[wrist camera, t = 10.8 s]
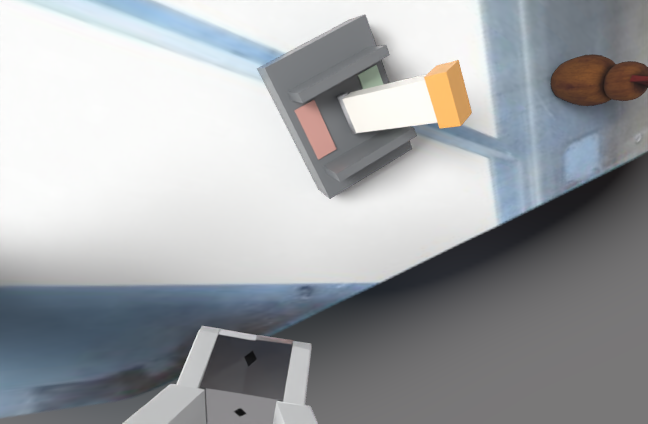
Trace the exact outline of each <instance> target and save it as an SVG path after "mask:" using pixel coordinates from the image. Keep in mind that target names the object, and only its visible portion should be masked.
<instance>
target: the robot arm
mask: <svg viewBox="0 0 648 424" xmlns="http://www.w3.org/2000/svg"><path fill="white" fill-rule="evenodd" d="M292 342H293V343H292ZM311 350H312V347H311V343H303V342H297V341H292V340H288V339H281V338H274V337H268V336H261V335H252V334H247V333H241V332H235V331H229V330H223V329H220V328H213V327H207V326H202V327H201V328H200V330H199V331H198V333H197V336H196V338H195V341H194V343H193V345H192V348H191V350H190V353H189V355H188V357H187V360H186V362H185V365H184V367H183V369H182V372H181V374H180V377H179V379H178V382H177V384H170V385H168V386H167V387H166V388H165V389H164V390H162V391H161V392H160V393H159V394H157V395H156V396H155V397H154V398H153V399H151V400H150V401H149V402H148V403H147V404H145V405H144V406H143V407H142V408H141V409H139V410H138V411H137V412H136V413H135V414H133V415H132V416H131V417H130V418H128V419H127V420H126V421H125V422H124V423H122V424H318V422H317V420H316V417H315V415H314V413H313V411H312V408H311V407H310V406H306V405H305V401H306V393H307V384H308V376H309V367H310V357H311Z"/></svg>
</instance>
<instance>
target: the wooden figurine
mask: <svg viewBox="0 0 648 424" xmlns="http://www.w3.org/2000/svg"><path fill="white" fill-rule="evenodd" d="M551 87H552V90H553V92H554V94H555V95H556V96H557V97H559V98H561V99H562V100H565V101H568V102H570V103H573V104H577V105H583V106H594V105H598V104H602V103H606V102H607V101H609V100H611V99H613V100H620V101H628V100H633V99H636V98H638V97H640V96H641V95H642V94H643V93H644V92H645V91H646V90H647V88H648V67H647V66H646V65H644V64H642V63H638V62H631V61H628V62H622V63H619V64H615V63H614V62H613V61H612V60H610V59H608V58H606V57H603V56H601V55H584V56H580V57H577V58H574V59H571V60H569V61H566V62H564V63H563V64H561V65H560V66H559V67H558V68H557V69H556V70H555V72H554V73H553V75H552V78H551Z"/></svg>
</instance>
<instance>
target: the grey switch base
mask: <svg viewBox="0 0 648 424" xmlns="http://www.w3.org/2000/svg"><path fill="white" fill-rule="evenodd" d="M387 56H389V52H388V49H387V46H386V45H382V46H376V44H375V41H374V38H373V35H372V32H371V29H370V26H369V23H368V21H367V18H366V15H362V16H359V17H356V18H353V19H350V20H348V21H346V22H344V23H342V24H340V25H338V26H336V27H335V28H333V29H331V30H329V31H327V32H325V33H323V34H321V35H320V36H318V37H316V38H314V39H312V40H310V41H308V42H306V43H304V44H303V45H301V46H299V47H297V48H295V49H293V50H291V51H289V52H288V53H286V54H284V55H282V56H280V57H278V58H276V59H274V60H272V61H271V62H269V63H267V64H265V65H263V66H261V67H259V68H257V69H258V71H259V73H260V75H261V77H262V79H263V81H264V83H265V85H266V87H267V89H268V91H269V93H270V95H271V97H272V99H273V101H274V103H275V105H276V107H277V109H278V111H279V113H280V115H281V117H282V119H283V121H284V122H285V124H286V126H287V128H288V130H289V132H290V134H291V136H292V138H293V140H294V142H295V144H296V146H297V148H298V150H299V152H300V154H301V156H302V158H303V160H304V162H305V164H306V166H307V168H308V170H309V172H310V174H311V176H312V178H313V180H314V182H315V184H316V186H317V188H318V189H319V190H320V191H321V192H322V193H323V194H324V195H326V196H327V197H328V198H329V199H331V198H332V197H334V196H335V195H337V194H339V193H340V192H342V191H344V190H345V189H347V188H349V187H350V186H352V185H354V184H355V183H357V182H359V181H360V180H362V179H363V178H365V177H367V176H368V175H370V174H372V173H373V172H375V171H377V170H378V169H380V168H382V167H383V166H385V165H387V164H388V163H390V162H391V161H393V160H395V159H396V158H398V157H400V156H401V155H403V154H405V153H406V152H408V151H410V150H411V149H412V147H411V144H410V141H409V140H411V139H412V138H414V137H416V136H417V135H416V132H415V129H414V128H413V127H409V126H408V127H400V128H392V129H385V130H377V131H369V132H362V133H358V134H352V131H351V129H350V127H349V124H348V122H347V119H346V117H345V115H344V112H343V110H342V108H341V105H340V103H339V101H338V98H337V96H338V95H340V94H342V93H344V92H348V94H349V93H350V92H354V91H358V90H362V89H366V88H371V87H375V86H379V85H383V84H387V83H389V81H388V78H387V75H386V72H385V69H384V66H383V64H382V61H381V59H383V58H385V57H387Z"/></svg>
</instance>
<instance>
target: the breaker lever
mask: <svg viewBox="0 0 648 424" xmlns="http://www.w3.org/2000/svg"><path fill="white" fill-rule="evenodd" d="M337 98H338V101H339V103H340V105H341V108H342V110H343V112H344V115H345V117H346V119H347V122H348V124H349V127H350V129H351V131H352V134H358V133H362V132H369V131H377V130H385V129H392V128H400V127H408V126H416V125H423V124H431V123H438V125H439V128H448V127H457V126H461V125H462V124H463V123H464V122H465V120H466V119H467V118H468V117H469V116H470V115H471V113H472V111H471V107H470V104H469V100H468V96H467V92H466V88H465V84H464V80H463V76H462V72H461V68H460V64H459V60H457V61H453V62H449V63H445V64H441V65H437V66H436V67H435V68H433V69H432V70H431V71H430V72H429V73H428V74H425V75H421V76H417V77H412V78H408V79H404V80H400V81H396V82H392V83H387V84H383V85H379V86H375V87H371V88H366V89H362V90H358V91H354V92H350V93H349V94H348V92H344V93H342V94H340V95H338V96H337Z"/></svg>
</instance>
